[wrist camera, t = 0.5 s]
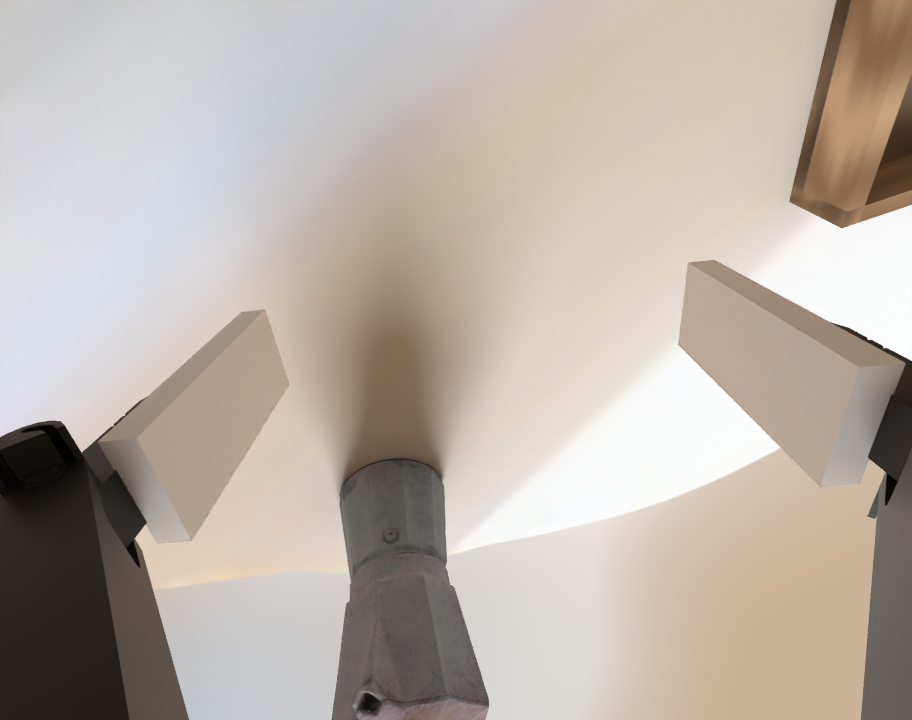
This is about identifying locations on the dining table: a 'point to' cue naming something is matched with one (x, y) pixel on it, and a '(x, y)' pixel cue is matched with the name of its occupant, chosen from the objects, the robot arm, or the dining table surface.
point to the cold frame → (860, 116)
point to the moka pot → (402, 604)
